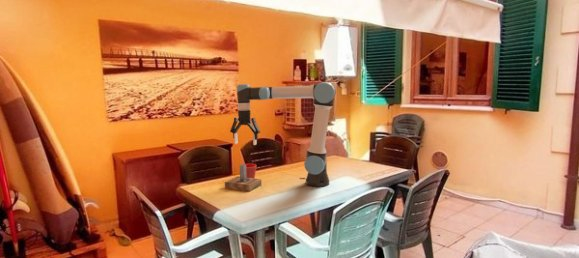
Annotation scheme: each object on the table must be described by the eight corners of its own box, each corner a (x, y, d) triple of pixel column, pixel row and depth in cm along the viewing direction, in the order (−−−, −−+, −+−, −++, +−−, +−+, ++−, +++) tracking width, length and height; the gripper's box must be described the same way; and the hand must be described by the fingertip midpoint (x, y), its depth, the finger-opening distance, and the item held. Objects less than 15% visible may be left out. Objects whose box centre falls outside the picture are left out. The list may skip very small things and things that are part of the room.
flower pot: (254, 181, 226) (253, 167, 225) (238, 181, 229) (237, 166, 227) (258, 177, 237) (258, 163, 235) (243, 176, 239) (243, 163, 238)
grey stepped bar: (248, 186, 217) (248, 164, 215) (244, 188, 212) (244, 166, 211) (242, 185, 219) (241, 163, 217) (237, 187, 214) (237, 165, 213)
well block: (261, 185, 218) (261, 179, 218) (249, 191, 206) (249, 185, 205) (237, 182, 226) (237, 176, 225) (224, 188, 213) (224, 181, 213)
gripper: (265, 109, 208) (266, 144, 211) (230, 109, 218) (232, 142, 221) (258, 110, 201) (260, 146, 204) (223, 110, 212) (225, 144, 214)
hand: (245, 144), depth 213 cm, fingers open, 13 cm apart
